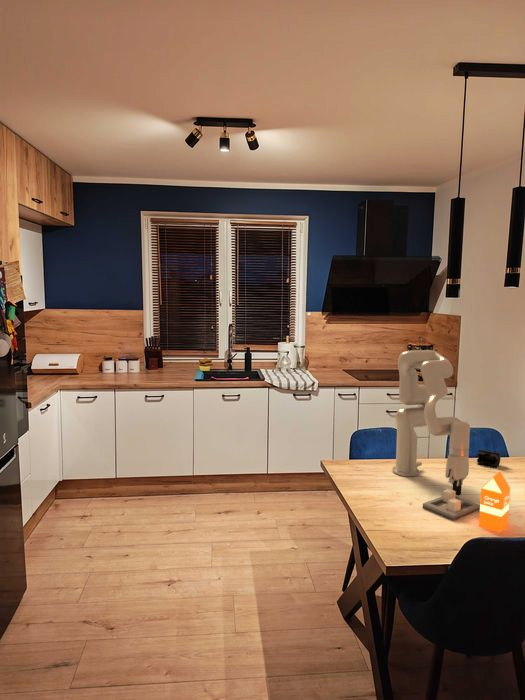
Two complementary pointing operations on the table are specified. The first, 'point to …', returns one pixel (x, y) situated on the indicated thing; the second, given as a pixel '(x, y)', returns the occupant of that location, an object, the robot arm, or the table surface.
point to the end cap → (488, 459)
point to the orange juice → (494, 504)
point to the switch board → (442, 509)
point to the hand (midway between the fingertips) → (456, 494)
